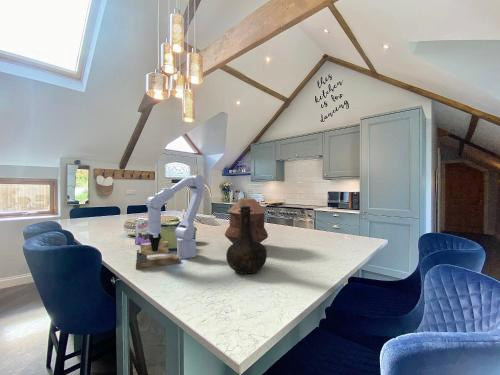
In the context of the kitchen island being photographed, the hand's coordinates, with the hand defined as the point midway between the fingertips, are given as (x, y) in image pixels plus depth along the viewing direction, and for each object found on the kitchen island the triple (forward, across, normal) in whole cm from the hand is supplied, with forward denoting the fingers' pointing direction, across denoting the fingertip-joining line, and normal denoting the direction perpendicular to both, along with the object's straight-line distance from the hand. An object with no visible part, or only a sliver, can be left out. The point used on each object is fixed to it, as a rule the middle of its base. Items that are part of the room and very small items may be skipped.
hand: (154, 250), depth 112 cm
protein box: (+7, -28, +9) cm, 30 cm away
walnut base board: (+7, 0, +1) cm, 7 cm away
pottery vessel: (+7, -6, +51) cm, 52 cm away
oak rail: (+2, 0, 0) cm, 2 cm away
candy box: (+7, -48, -2) cm, 49 cm away
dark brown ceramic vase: (+7, +27, +36) cm, 45 cm away
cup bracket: (+4, 0, -6) cm, 7 cm away
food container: (+7, -36, +25) cm, 44 cm away
